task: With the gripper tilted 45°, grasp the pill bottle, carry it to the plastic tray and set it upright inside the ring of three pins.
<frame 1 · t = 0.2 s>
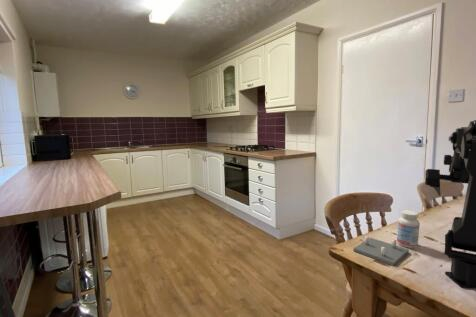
hand: (455, 196, 94), 15 cm above the table, tool tilted 35°, fingers open, 9 cm apart
pin tray: (380, 251, 87), on the table
pill bottle: (407, 244, 92), on the table
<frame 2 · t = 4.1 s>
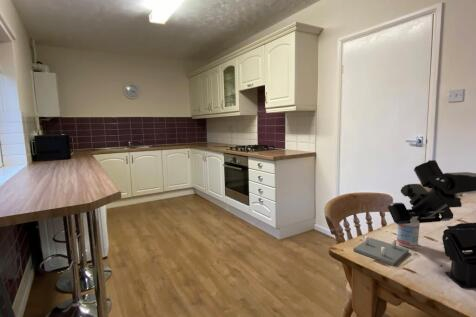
hand: (405, 222, 92), 7 cm above the table, tool tilted 45°, fingers closed on pill bottle, 6 cm apart
pill bottle: (407, 244, 92), on the table, touching gripper
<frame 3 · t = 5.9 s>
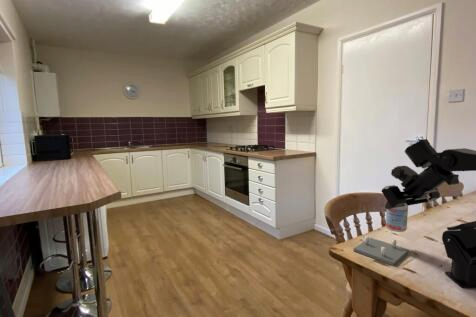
hand: (393, 206, 90), 13 cm above the table, tool tilted 45°, fingers closed on pill bottle, 6 cm apart
pill bottle: (396, 229, 90), point 6 cm above the table, touching gripper
when the fingers open (9 cm above the table, at t = 7.9 s): pill bottle stays where it is, resting on pin tray.
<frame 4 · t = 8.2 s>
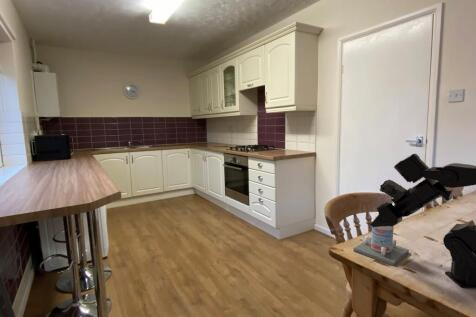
hand: (377, 222, 87), 10 cm above the table, tool tilted 45°, fingers open, 9 cm apart
pill bottle: (381, 249, 87), point 1 cm above the table, touching pin tray
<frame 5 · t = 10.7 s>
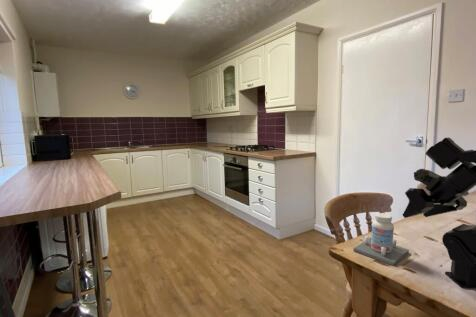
hand: (414, 216, 80), 14 cm above the table, tool tilted 40°, fingers open, 9 cm apart
nothing on the table moved.
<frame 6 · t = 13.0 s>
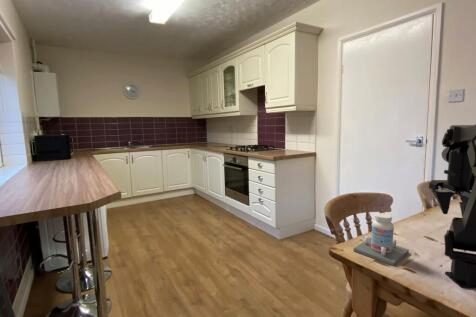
hand: (455, 219, 81), 12 cm above the table, tool pointing down, fingers open, 9 cm apart
nothing on the table moved.
at the end: pill bottle 0.2 cm off-centre on the pin tray, point 0.8 cm above the pin tray's base; pill bottle tilted 0°; the gripper is holding nothing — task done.
